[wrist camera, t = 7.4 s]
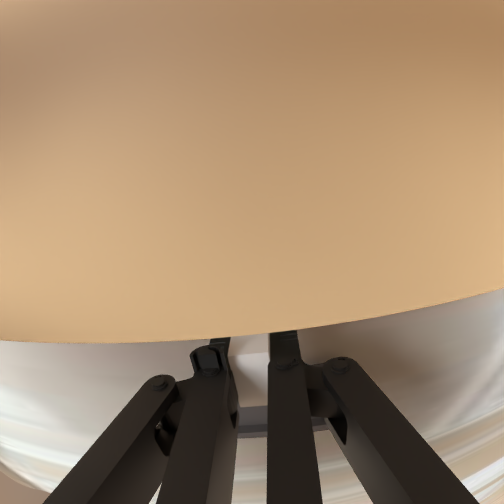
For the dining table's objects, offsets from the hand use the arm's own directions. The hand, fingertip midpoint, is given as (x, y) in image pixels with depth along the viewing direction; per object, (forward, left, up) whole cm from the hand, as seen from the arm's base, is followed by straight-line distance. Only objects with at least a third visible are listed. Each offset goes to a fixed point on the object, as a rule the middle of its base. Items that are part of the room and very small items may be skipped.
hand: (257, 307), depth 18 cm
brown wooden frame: (-11, 0, -5) cm, 12 cm away
